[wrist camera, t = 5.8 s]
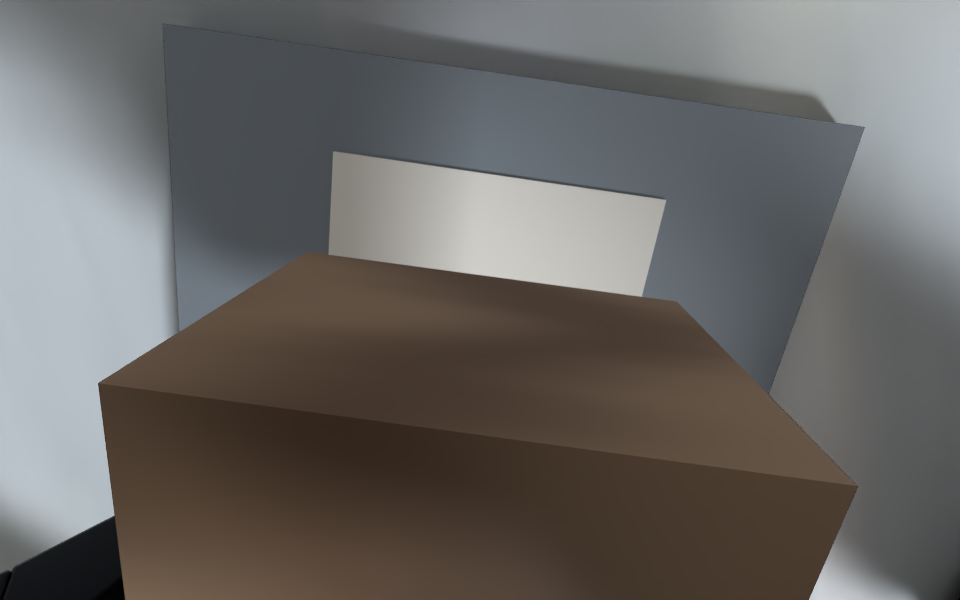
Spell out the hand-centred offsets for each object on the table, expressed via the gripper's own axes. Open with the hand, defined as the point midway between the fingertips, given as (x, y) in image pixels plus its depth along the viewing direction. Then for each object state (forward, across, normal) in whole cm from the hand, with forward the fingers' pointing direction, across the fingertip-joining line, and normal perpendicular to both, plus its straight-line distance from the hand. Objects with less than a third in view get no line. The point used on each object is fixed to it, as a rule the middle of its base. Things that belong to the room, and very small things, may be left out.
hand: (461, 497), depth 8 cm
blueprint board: (+8, 0, 0) cm, 8 cm away
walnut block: (+1, 0, 0) cm, 1 cm away
